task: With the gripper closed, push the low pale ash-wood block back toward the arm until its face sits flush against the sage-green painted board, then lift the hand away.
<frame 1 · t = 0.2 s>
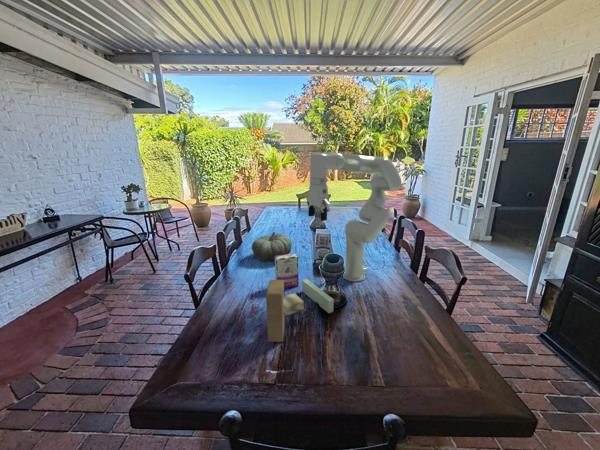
hand: (317, 218, 131), 37 cm above the table, fingers open, 9 cm apart
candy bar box: (287, 285, 144), on the table
gourd: (272, 258, 179), on the table
ash block: (290, 308, 124), on the table
sage board: (316, 300, 130), on the table
decorative block: (276, 333, 108), on the table
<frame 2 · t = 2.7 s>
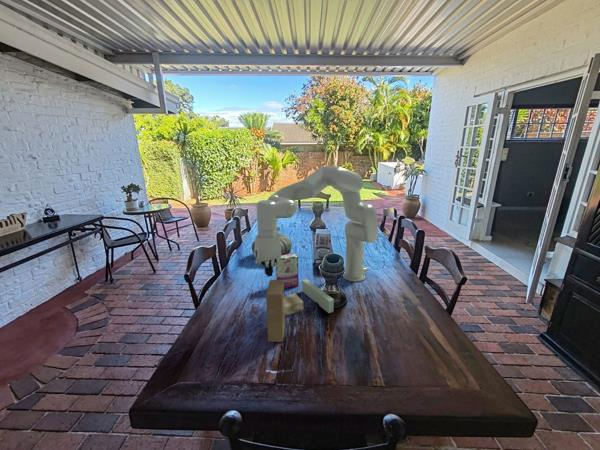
hand: (268, 274, 114), 19 cm above the table, fingers closed
nothing on the table moved.
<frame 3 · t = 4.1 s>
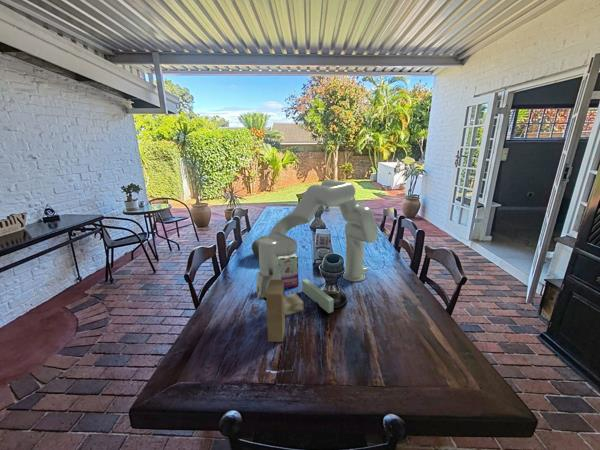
hand: (270, 308, 118), 3 cm above the table, fingers closed
nothing on the table moved.
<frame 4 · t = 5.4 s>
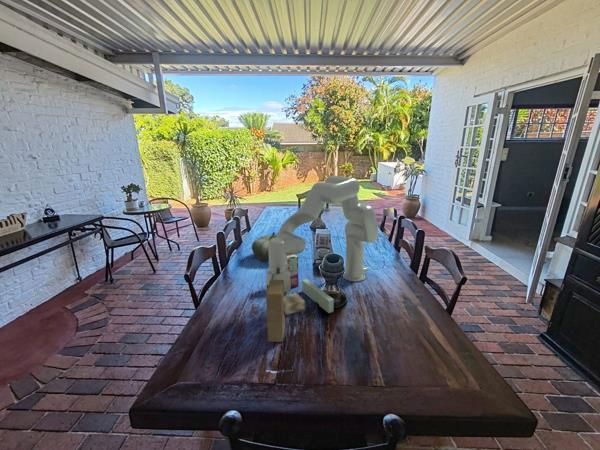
hand: (279, 306, 120), 3 cm above the table, fingers closed
nothing on the table moved.
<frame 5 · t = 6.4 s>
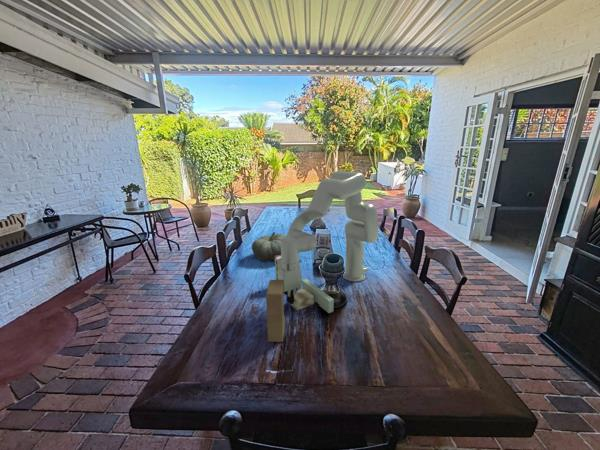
hand: (290, 302, 123), 3 cm above the table, fingers closed
ash block: (300, 303, 128), on the table, touching gripper
everything else where it was.
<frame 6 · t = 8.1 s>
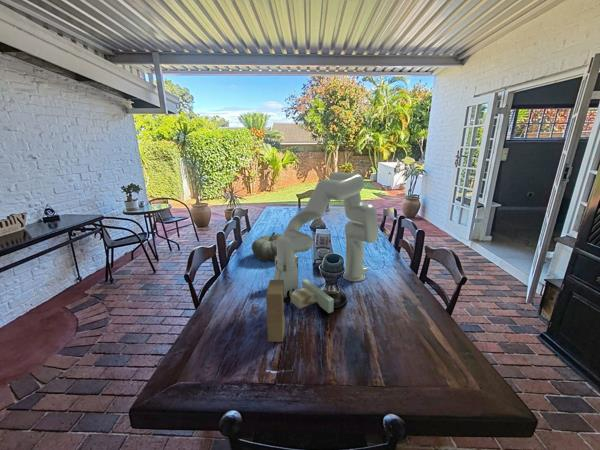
hand: (286, 303, 122), 3 cm above the table, fingers closed
ash block: (302, 302, 129), on the table
everything else where it was.
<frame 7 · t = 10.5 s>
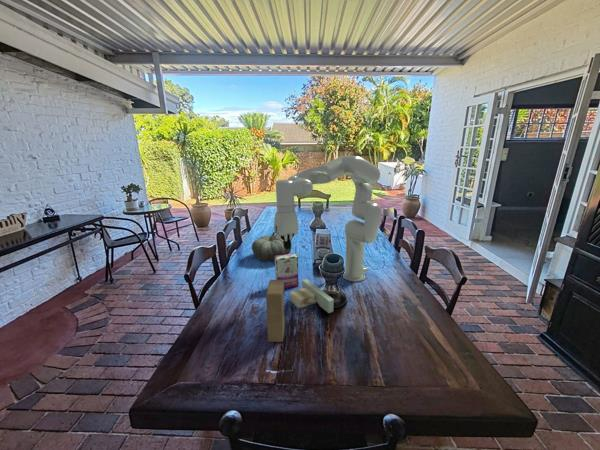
hand: (287, 248, 125), 25 cm above the table, fingers closed
nothing on the table moved.
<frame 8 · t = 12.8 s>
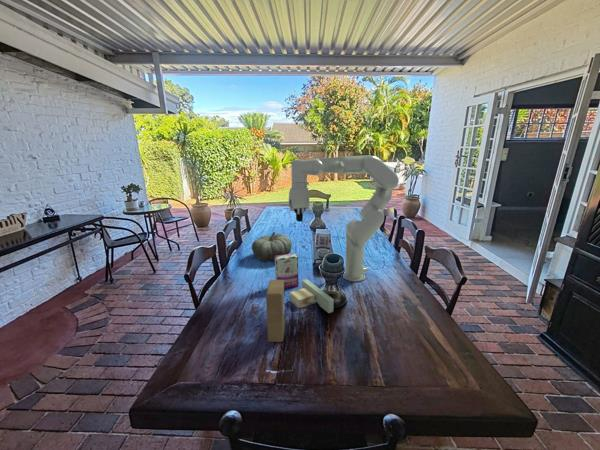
hand: (299, 220, 143), 32 cm above the table, fingers closed
nothing on the table moved.
at the end: ash block 1.8 cm from the target spot on the table beside the sage board, on the table; ash block tilted 0° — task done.
